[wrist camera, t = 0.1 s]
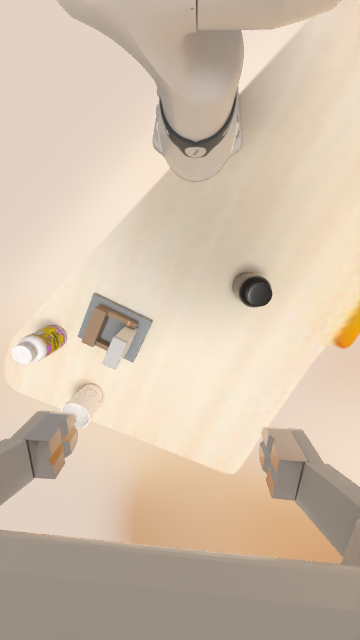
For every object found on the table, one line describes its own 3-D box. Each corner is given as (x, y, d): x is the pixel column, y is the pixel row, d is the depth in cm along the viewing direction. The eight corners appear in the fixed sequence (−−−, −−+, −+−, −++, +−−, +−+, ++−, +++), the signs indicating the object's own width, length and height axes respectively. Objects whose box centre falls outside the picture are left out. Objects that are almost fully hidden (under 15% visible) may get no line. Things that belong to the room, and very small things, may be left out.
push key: (117, 345, 59) (101, 363, 49) (127, 322, 57) (113, 336, 47) (128, 350, 60) (114, 369, 49) (138, 328, 58) (126, 343, 47)
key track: (80, 334, 61) (69, 342, 56) (95, 293, 58) (85, 296, 52) (134, 360, 62) (128, 369, 57) (152, 320, 59) (148, 327, 53)
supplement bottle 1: (69, 346, 62) (38, 368, 50) (47, 347, 63) (11, 369, 51) (64, 323, 61) (31, 340, 48) (42, 325, 61) (3, 342, 49)
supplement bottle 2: (226, 285, 55) (235, 292, 43) (248, 266, 53) (263, 269, 42) (243, 305, 56) (256, 318, 44) (265, 287, 54) (285, 296, 43)
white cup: (99, 379, 65) (82, 400, 55) (108, 402, 67) (94, 426, 57) (75, 384, 66) (54, 406, 56) (85, 406, 68) (67, 431, 58)
